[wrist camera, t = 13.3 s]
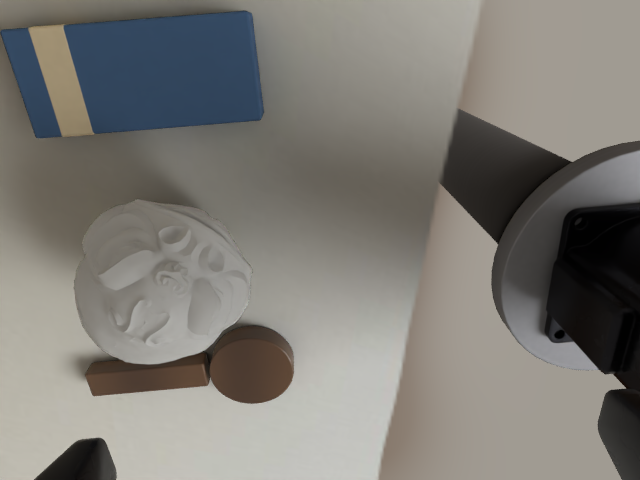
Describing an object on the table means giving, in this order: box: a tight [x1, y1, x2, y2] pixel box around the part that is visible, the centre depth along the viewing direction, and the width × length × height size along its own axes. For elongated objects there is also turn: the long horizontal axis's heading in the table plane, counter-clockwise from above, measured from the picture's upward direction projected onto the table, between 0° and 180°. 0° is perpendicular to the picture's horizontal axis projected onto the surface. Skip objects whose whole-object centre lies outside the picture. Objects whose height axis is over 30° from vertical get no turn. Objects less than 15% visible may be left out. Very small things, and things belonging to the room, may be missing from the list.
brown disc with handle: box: [85, 326, 294, 404], centre depth 22 cm, size 10×4×1 cm, turn 94°
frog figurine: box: [74, 199, 253, 364], centre depth 16 cm, size 6×7×7 cm
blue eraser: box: [0, 11, 264, 138], centre depth 16 cm, size 8×4×2 cm, turn 94°
